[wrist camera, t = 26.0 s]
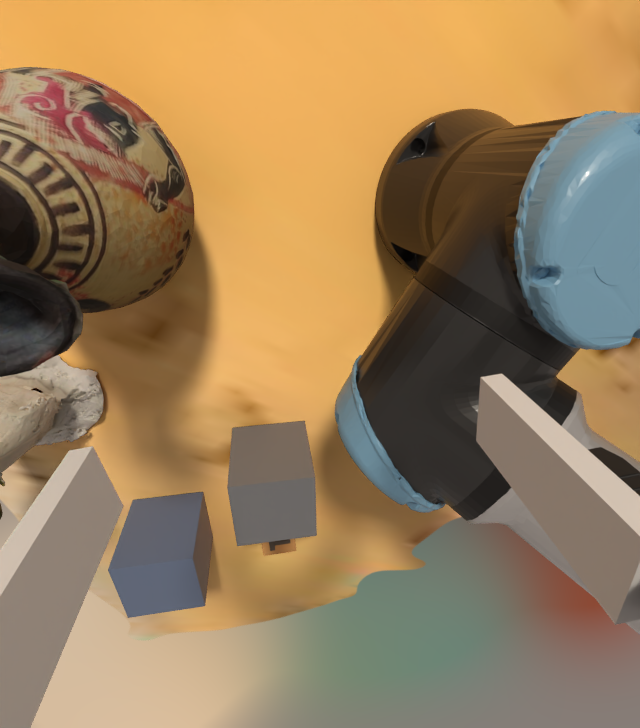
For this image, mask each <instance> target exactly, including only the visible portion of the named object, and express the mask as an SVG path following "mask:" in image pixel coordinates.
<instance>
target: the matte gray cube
mask: <svg viewBox="0 0 640 728" xmlns="http://www.w3.org/2000/svg"><path fill="white" fill-rule="evenodd" d="M227 488H228V494H229V500H230V506H231V511H232V517H233V523H234V529H235V535H236V541H237V546H242V545H250V544H257V543H265V542H272V541H280V540H287V539H295V538H302V537H310V536H317V532H316V492H315V474H314V468H313V463H312V458H311V452H310V447H309V442H308V436H307V431H306V426H305V421H297V422H287V423H277V424H266V425H256V426H246V427H236V428H232V439H231V451H230V463H229V475H228V487H227Z"/></svg>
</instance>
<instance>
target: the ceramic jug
mask: <svg viewBox="0 0 640 728" xmlns="http://www.w3.org/2000/svg"><path fill="white" fill-rule="evenodd" d="M193 224H194V201H193V192H192V189H191V185H190V182H189V178H188V175H187V172H186V170H185V167H184V165H183V163H182V161H181V158H180V156H179V154H178V152H177V151H176V149H175V148H174V147H173V145H172V144H171V142H170V141H169V140H168V138H167V137H166V135H165V134H164V132H163V131H162V130H161V128H160V127H159V125H158V124H157V123H156V122H155V121H154V120H153V119H152V118H151V117H150V116H149V115H148V114H146V113H145V112H144V111H143V110H142V109H141V108H140V107H139V106H138V105H137V104H136V103H134V102H133V101H131V100H130V99H128V98H126V97H125V96H123V95H122V94H120V93H119V92H118V91H116V90H114V89H112V88H110V87H109V86H107V85H106V84H104V83H102V82H99V81H97V80H94V79H92V78H89V77H86V76H83V75H81V74H77V73H73V72H70V71H66V70H61V69H48V68H37V67H22V68H13V69H6V70H0V377H4V376H9V375H15V374H19V373H23V372H27V371H31V370H33V369H34V368H36V367H37V366H39V365H41V364H42V363H44V362H45V361H47V360H49V359H51V358H53V357H55V356H57V355H59V354H61V353H63V352H65V351H67V350H68V349H69V348H70V346H71V345H72V344H73V343H74V342H75V340H76V339H77V338H78V337H79V335H80V334H81V331H82V326H83V314H82V313H92V312H100V311H105V310H111V309H116V308H121V307H124V306H126V305H129V304H132V303H134V302H137V301H139V300H142V299H144V298H146V297H148V296H150V295H151V294H153V293H154V292H156V291H157V290H159V289H160V288H162V287H163V286H164V285H165V284H166V283H167V282H168V281H169V280H170V279H171V278H172V276H173V275H174V274H175V272H176V271H177V270H178V268H179V267H180V266H181V264H182V263H183V261H184V258H185V256H186V253H187V251H188V248H189V246H190V242H191V238H192V234H193Z"/></svg>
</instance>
